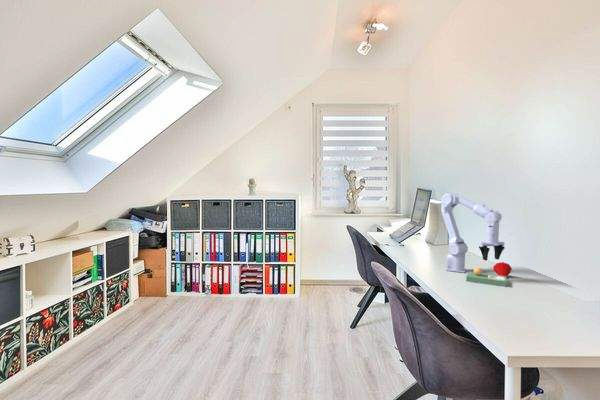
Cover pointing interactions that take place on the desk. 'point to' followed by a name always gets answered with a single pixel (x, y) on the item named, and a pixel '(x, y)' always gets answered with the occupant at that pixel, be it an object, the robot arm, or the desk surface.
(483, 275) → the green flat board
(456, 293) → the desk surface
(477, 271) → the ball
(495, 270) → the gemstone
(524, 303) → the desk surface
